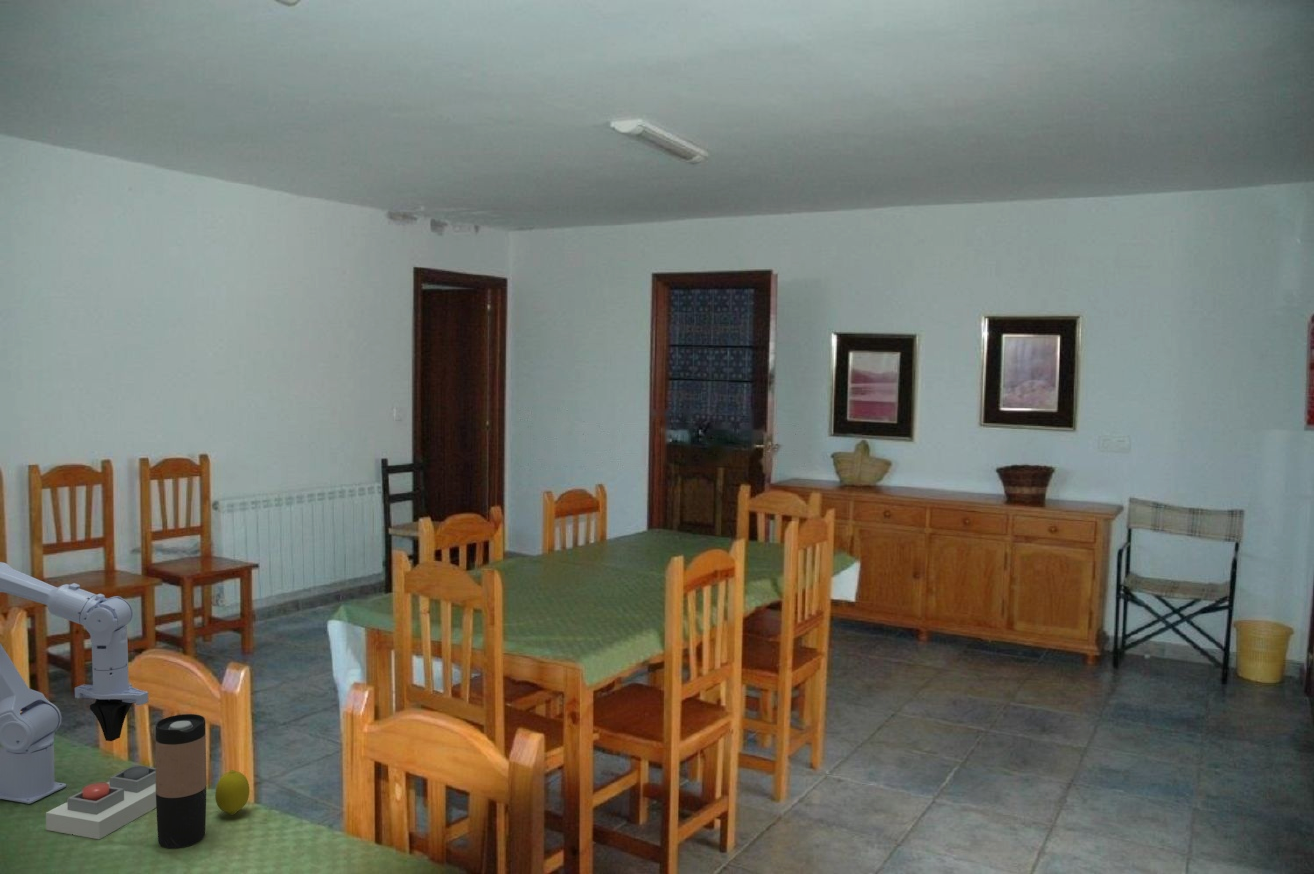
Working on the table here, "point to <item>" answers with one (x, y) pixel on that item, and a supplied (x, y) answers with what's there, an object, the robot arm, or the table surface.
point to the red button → (95, 791)
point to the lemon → (232, 792)
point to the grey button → (136, 772)
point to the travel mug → (181, 780)
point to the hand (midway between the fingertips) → (112, 738)
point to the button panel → (105, 807)
